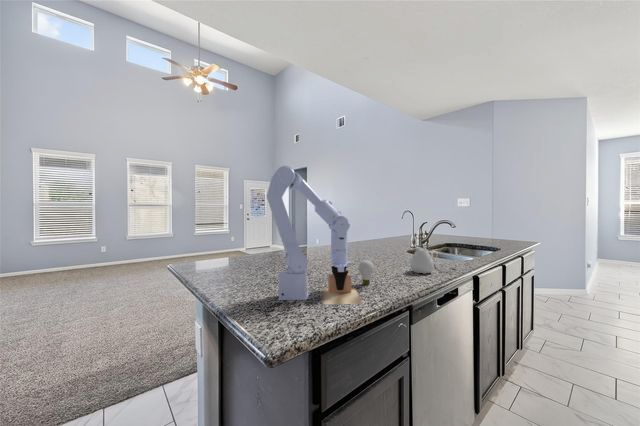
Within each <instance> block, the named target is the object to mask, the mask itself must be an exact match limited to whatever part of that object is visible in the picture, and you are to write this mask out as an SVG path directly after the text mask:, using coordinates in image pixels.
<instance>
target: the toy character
mask: <svg viewBox="0 0 640 426" xmlns="http://www.w3.org/2000/svg"><path fill="white" fill-rule="evenodd" d="M434 268H435V264H434V260H433V259H432V256H431V254H430V252H429V251H428V249H427V248H426V246H423V248H421V247H420V246H418V247H417V248H416V250H415V251H414V254H413V256H412V257H411V260H410V269H411V271H413V272H414V273H416V274H419V273H423V275H426V273H428V274H430V273H432V272H433V271H434Z"/></svg>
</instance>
